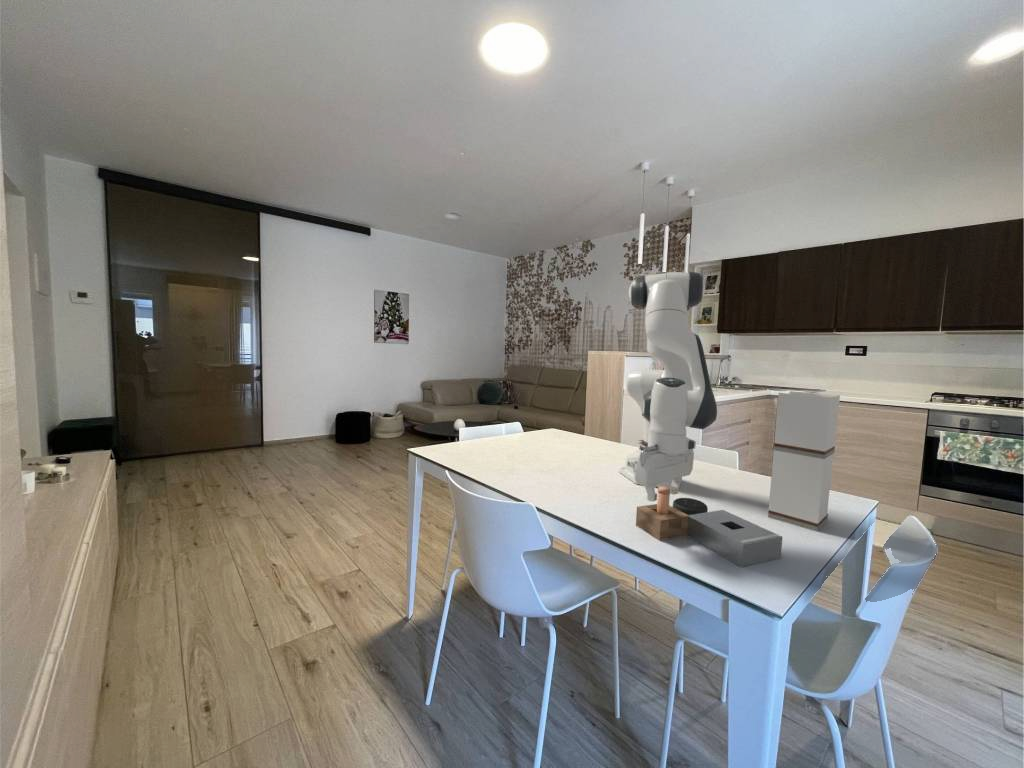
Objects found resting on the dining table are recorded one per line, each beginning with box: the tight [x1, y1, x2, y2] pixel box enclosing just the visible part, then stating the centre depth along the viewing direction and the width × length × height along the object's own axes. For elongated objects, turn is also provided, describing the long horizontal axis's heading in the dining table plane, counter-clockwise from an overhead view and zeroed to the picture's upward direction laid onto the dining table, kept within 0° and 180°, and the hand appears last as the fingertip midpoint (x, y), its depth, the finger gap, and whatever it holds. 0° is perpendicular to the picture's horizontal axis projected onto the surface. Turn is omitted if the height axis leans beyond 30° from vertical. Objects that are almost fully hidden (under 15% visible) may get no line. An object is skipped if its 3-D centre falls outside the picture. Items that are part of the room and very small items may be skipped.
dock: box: [686, 509, 783, 568], centre depth 98 cm, size 16×12×5 cm
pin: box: [656, 487, 671, 515], centre depth 105 cm, size 3×3×11 cm
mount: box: [635, 503, 688, 541], centre depth 106 cm, size 9×9×5 cm
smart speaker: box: [672, 497, 709, 515], centre depth 115 cm, size 9×9×4 cm
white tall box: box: [767, 390, 841, 532], centre depth 114 cm, size 11×11×35 cm
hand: (662, 496), depth 105 cm, fingers open, 8 cm apart
